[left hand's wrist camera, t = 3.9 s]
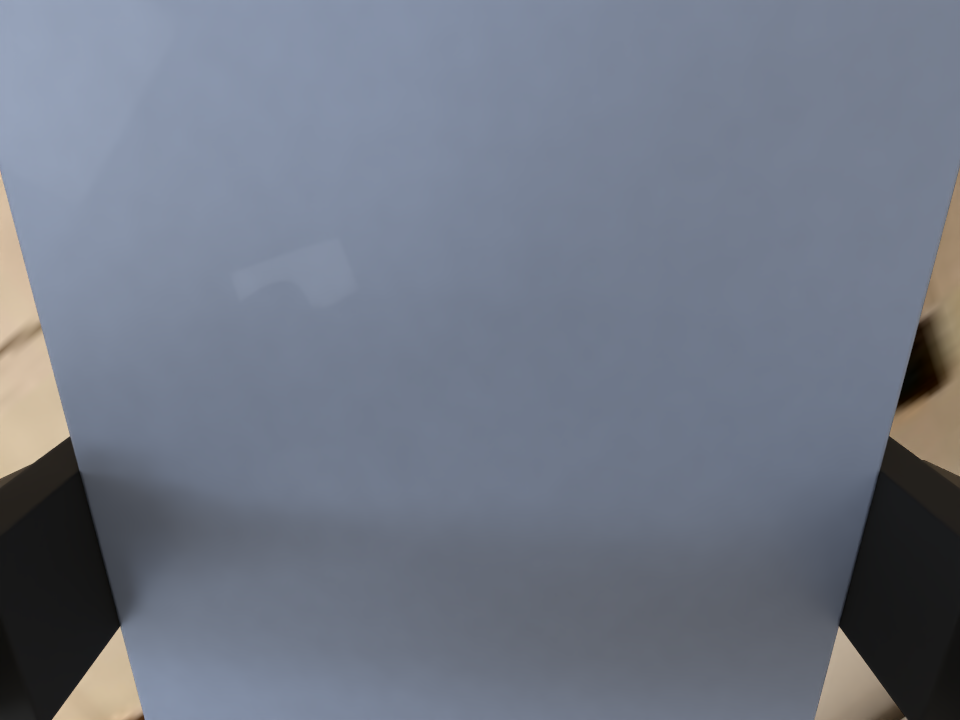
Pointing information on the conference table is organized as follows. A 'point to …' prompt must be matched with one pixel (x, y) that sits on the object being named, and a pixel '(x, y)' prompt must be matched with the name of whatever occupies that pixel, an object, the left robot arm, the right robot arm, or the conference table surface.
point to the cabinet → (479, 336)
